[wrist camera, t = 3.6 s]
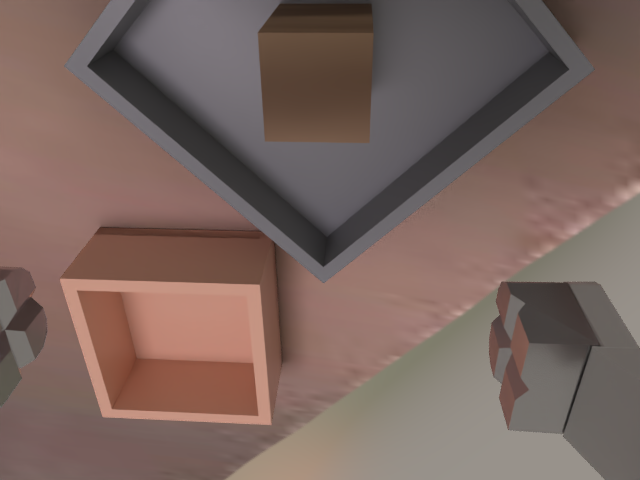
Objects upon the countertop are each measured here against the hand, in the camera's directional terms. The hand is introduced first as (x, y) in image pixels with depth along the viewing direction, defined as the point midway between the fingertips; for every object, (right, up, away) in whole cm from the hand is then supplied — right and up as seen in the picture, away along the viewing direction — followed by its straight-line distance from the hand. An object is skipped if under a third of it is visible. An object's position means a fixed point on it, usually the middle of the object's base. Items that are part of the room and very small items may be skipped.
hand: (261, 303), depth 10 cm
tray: (+1, +10, +16) cm, 19 cm away
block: (+1, +10, +16) cm, 18 cm away
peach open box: (-6, -3, +25) cm, 25 cm away
